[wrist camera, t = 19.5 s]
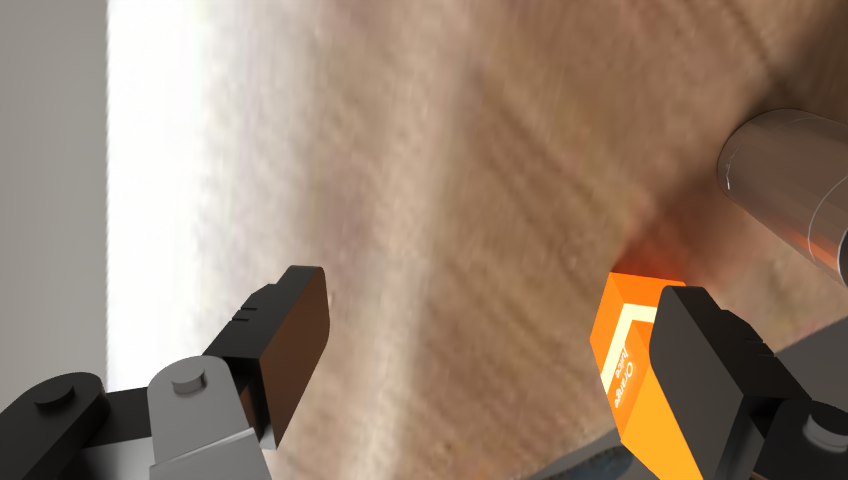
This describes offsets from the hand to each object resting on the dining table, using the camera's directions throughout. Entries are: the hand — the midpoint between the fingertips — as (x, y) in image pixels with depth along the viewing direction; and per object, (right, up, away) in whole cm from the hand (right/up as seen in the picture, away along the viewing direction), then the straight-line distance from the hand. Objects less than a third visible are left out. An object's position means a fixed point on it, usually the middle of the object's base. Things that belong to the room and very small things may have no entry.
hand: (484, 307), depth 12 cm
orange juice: (+21, -6, +41) cm, 46 cm away
